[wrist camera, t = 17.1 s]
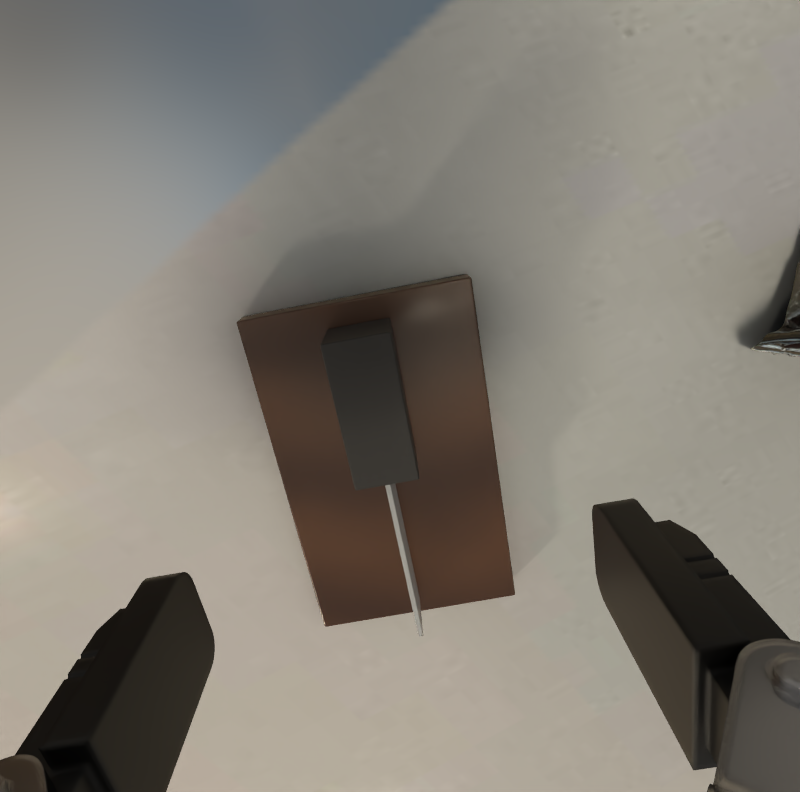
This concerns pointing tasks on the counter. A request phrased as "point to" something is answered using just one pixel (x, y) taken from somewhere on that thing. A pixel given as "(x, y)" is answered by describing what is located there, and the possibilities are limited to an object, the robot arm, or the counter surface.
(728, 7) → the counter surface
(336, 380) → the knife
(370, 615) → the board
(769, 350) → the chocolate cake
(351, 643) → the counter surface
